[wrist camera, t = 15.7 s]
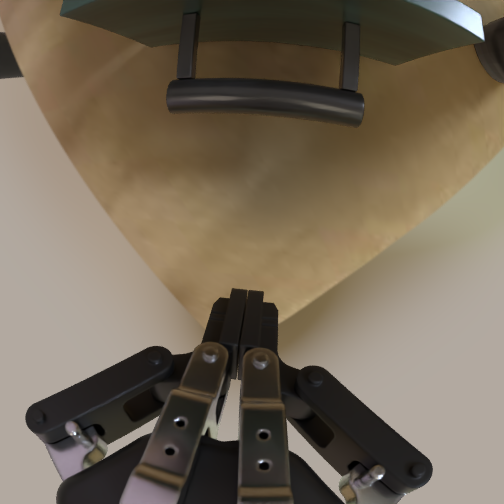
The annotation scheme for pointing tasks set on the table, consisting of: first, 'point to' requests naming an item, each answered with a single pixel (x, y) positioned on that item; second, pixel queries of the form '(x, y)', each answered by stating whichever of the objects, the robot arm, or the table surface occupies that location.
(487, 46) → the beverage cup
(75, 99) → the table surface
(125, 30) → the drawer
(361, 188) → the table surface
